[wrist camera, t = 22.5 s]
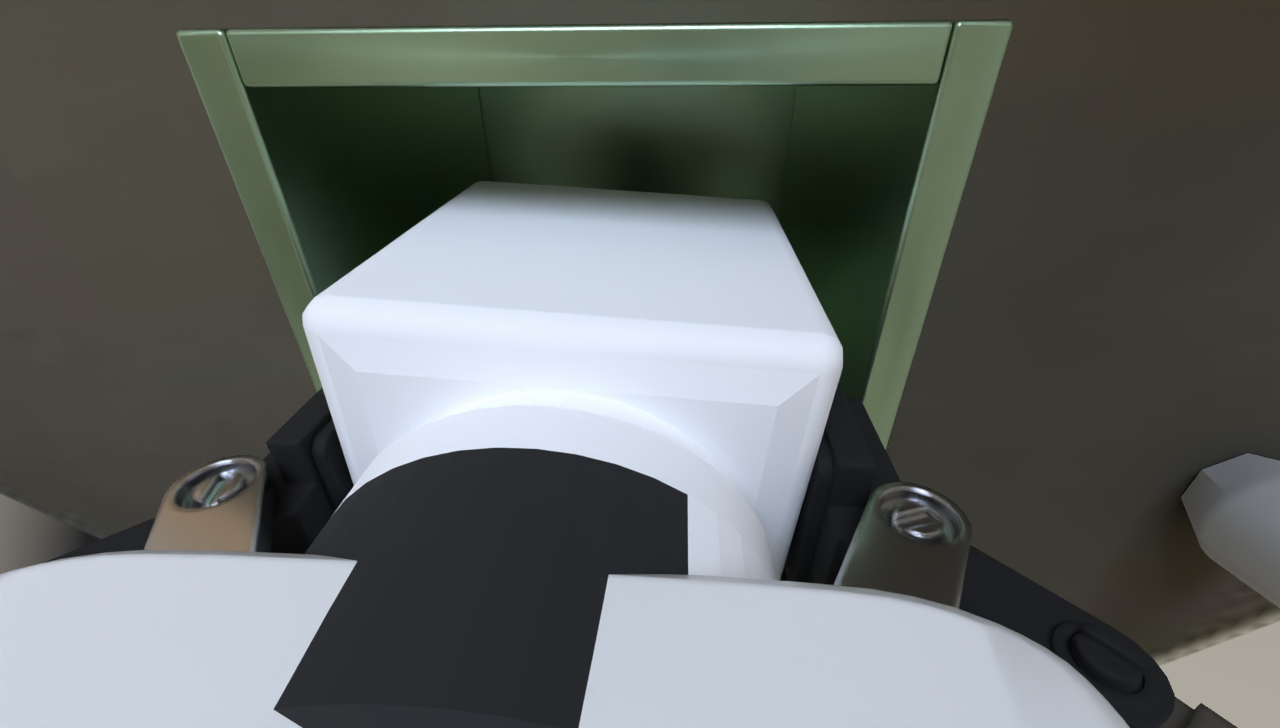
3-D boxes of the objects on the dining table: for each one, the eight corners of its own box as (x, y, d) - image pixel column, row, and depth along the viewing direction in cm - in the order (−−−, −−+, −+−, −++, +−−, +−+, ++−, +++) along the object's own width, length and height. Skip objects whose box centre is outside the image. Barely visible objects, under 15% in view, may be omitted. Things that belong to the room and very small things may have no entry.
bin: (455, 32, 18) (169, 29, 8) (823, 28, 17) (1017, 18, 7) (515, 407, 26) (411, 637, 16) (767, 415, 25) (822, 663, 15)
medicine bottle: (499, 415, 17) (202, 1030, 6) (472, 176, 13) (-369, 742, 3) (731, 434, 16) (810, 1105, 6) (773, 197, 13) (1168, 910, 2)
